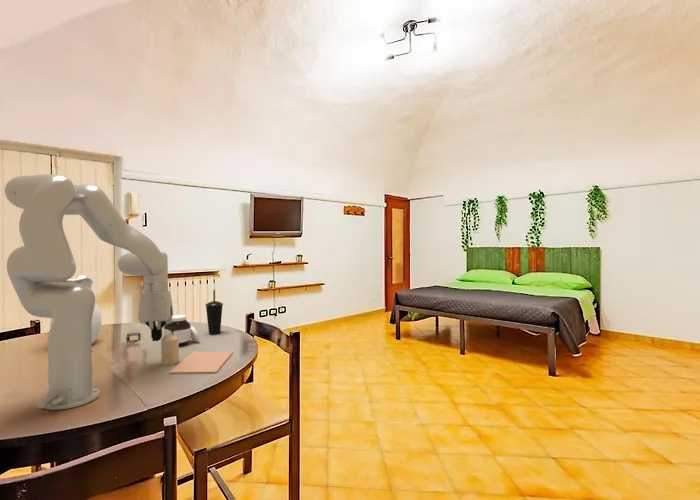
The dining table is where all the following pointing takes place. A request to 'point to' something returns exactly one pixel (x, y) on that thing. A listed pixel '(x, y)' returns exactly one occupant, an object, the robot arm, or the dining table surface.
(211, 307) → the drinking cup
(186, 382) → the dining table surface
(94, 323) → the pitcher
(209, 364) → the mat
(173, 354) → the candle
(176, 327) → the spread jar
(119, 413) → the dining table surface
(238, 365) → the dining table surface
